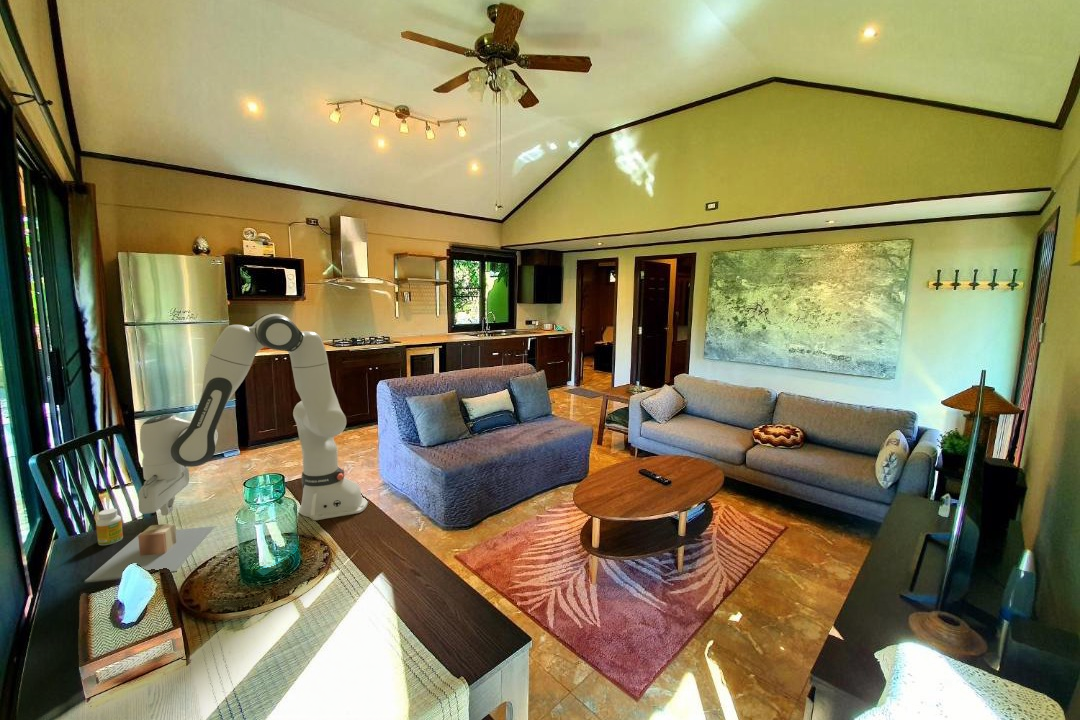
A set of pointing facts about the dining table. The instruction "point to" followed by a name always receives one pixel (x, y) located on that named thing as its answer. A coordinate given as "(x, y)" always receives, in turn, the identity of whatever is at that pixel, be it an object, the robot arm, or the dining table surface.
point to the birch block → (157, 539)
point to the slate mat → (171, 559)
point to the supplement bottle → (109, 527)
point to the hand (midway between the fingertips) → (167, 513)
